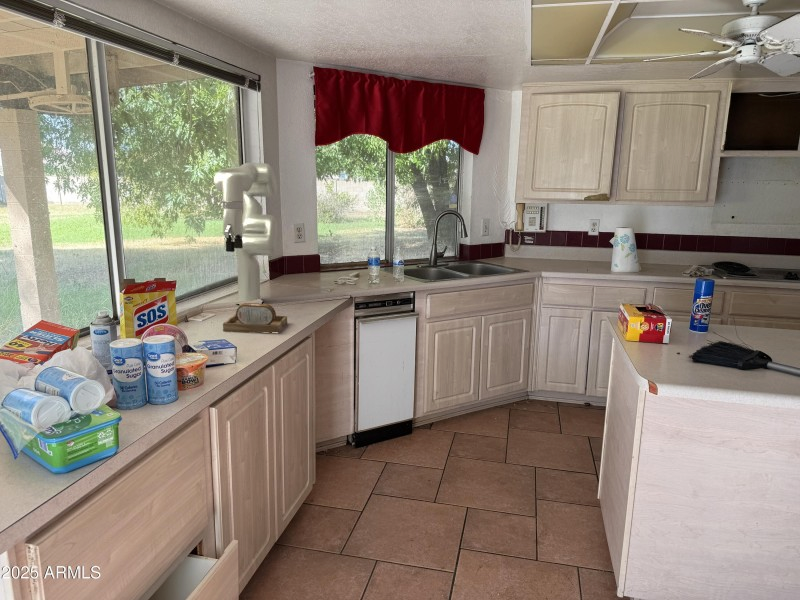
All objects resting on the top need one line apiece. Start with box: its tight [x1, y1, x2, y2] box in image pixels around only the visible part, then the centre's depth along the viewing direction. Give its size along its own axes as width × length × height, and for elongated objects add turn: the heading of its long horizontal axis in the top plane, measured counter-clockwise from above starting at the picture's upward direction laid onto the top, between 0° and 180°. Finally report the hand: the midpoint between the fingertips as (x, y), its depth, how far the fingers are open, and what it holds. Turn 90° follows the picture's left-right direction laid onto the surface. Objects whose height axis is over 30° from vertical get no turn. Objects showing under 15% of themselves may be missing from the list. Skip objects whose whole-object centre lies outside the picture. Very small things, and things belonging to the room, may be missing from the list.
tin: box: [235, 303, 277, 325], centre depth 207 cm, size 15×3×8 cm, turn 88°
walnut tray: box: [222, 313, 288, 334], centre depth 208 cm, size 15×21×3 cm
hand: (234, 249), depth 212 cm, fingers open, 9 cm apart
